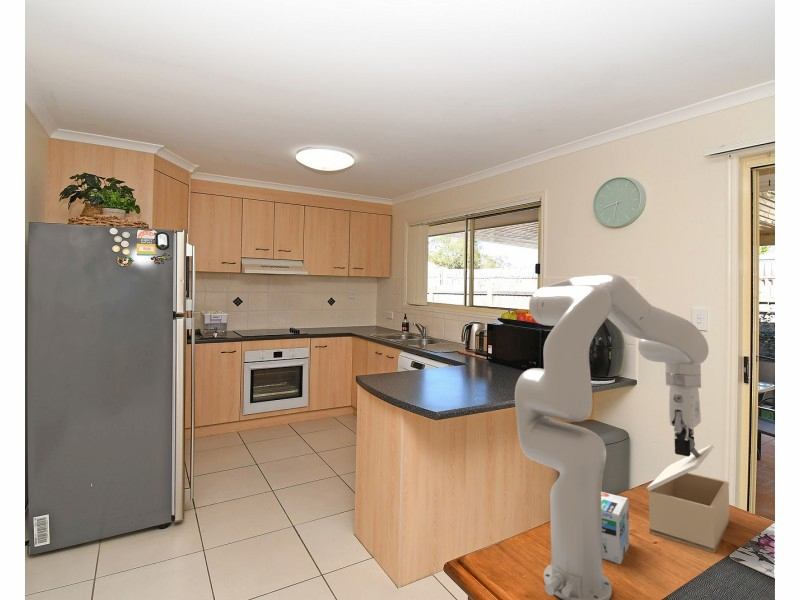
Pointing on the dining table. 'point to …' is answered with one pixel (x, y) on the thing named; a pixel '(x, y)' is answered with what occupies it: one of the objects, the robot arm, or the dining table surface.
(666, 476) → the flap
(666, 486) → the beige box
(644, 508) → the dining table surface
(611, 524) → the light bulb box
